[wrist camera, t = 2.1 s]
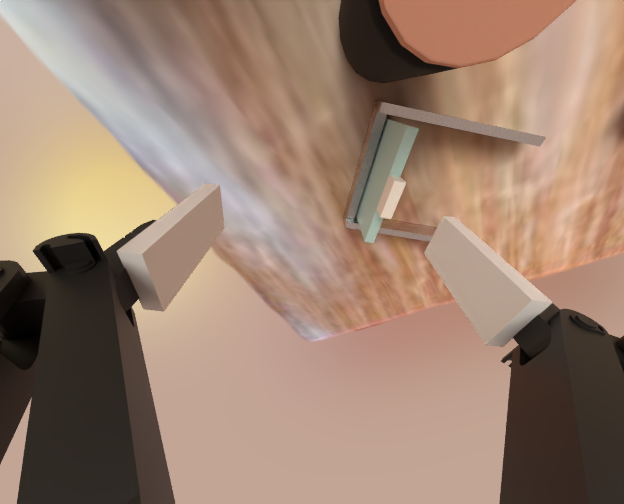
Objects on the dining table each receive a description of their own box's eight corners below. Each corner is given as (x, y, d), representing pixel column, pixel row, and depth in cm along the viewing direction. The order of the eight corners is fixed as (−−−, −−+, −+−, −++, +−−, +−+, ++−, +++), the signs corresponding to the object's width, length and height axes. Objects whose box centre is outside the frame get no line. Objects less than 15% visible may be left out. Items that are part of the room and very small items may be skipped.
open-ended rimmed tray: (343, 217, 36) (345, 227, 33) (375, 101, 27) (382, 102, 24) (456, 236, 38) (467, 247, 35) (523, 133, 29) (546, 137, 26)
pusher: (354, 211, 35) (367, 250, 26) (383, 118, 28) (414, 128, 19) (362, 212, 35) (376, 252, 26) (392, 119, 28) (428, 131, 19)
